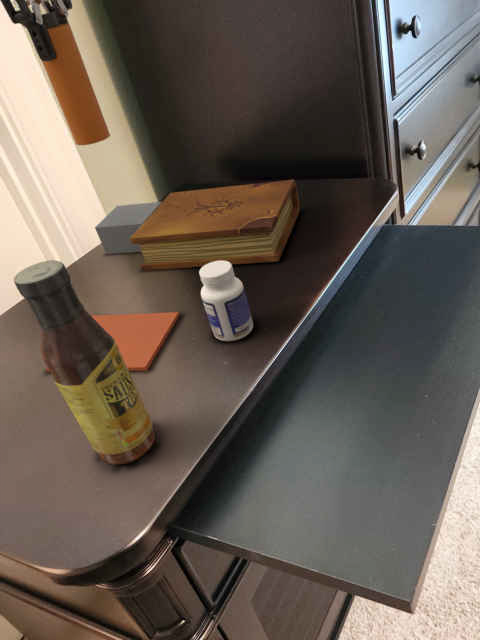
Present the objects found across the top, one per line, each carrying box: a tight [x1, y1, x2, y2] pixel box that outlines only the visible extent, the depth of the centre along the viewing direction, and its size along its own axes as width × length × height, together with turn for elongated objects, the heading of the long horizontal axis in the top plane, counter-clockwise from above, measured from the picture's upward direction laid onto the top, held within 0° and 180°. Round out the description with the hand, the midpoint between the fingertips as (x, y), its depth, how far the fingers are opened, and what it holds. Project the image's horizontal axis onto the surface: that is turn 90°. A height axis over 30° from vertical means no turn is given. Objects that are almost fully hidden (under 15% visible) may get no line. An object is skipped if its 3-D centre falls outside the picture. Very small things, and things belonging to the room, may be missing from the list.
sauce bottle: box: [13, 259, 156, 466], centre depth 48 cm, size 7×6×20 cm
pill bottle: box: [198, 261, 254, 342], centre depth 64 cm, size 5×5×9 cm
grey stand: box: [94, 201, 163, 255], centre depth 92 cm, size 9×9×5 cm
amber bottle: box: [41, 12, 111, 146], centre depth 74 cm, size 5×5×16 cm
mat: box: [45, 311, 180, 373], centre depth 69 cm, size 14×12×1 cm
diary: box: [130, 179, 301, 272], centre depth 87 cm, size 23×19×6 cm
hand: (60, 54), depth 72 cm, fingers closed on amber bottle, 5 cm apart
